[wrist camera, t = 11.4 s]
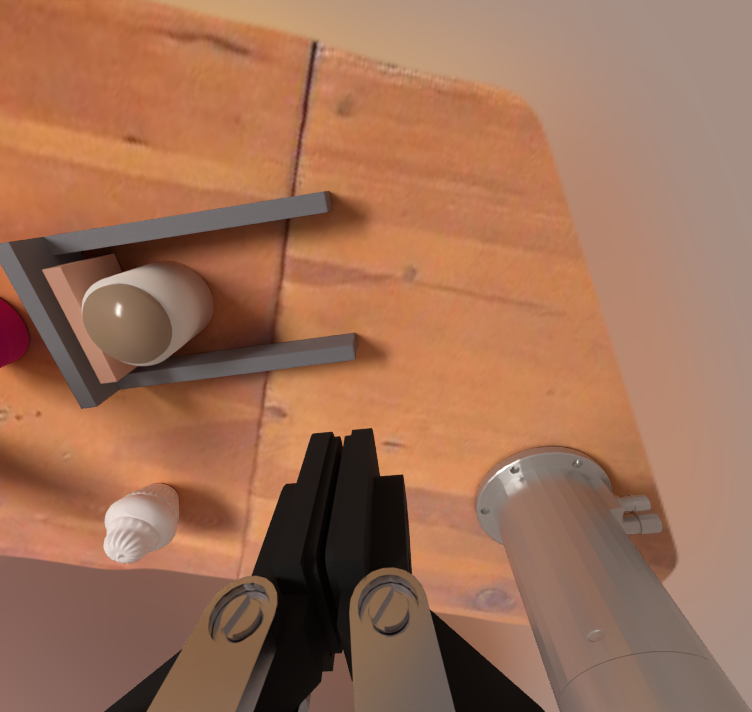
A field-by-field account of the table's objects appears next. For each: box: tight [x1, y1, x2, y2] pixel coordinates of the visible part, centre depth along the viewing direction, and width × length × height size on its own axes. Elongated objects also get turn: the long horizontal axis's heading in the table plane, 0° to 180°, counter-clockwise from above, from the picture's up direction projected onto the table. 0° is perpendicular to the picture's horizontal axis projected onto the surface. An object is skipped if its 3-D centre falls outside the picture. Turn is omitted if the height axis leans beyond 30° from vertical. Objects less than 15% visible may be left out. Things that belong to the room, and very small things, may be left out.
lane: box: [0, 191, 357, 409], centre depth 26 cm, size 20×12×5 cm, turn 98°
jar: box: [82, 260, 214, 366], centre depth 26 cm, size 6×6×6 cm
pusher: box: [42, 253, 138, 384], centre depth 26 cm, size 1×8×5 cm, turn 9°
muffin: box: [104, 483, 179, 564], centre depth 34 cm, size 6×6×7 cm
